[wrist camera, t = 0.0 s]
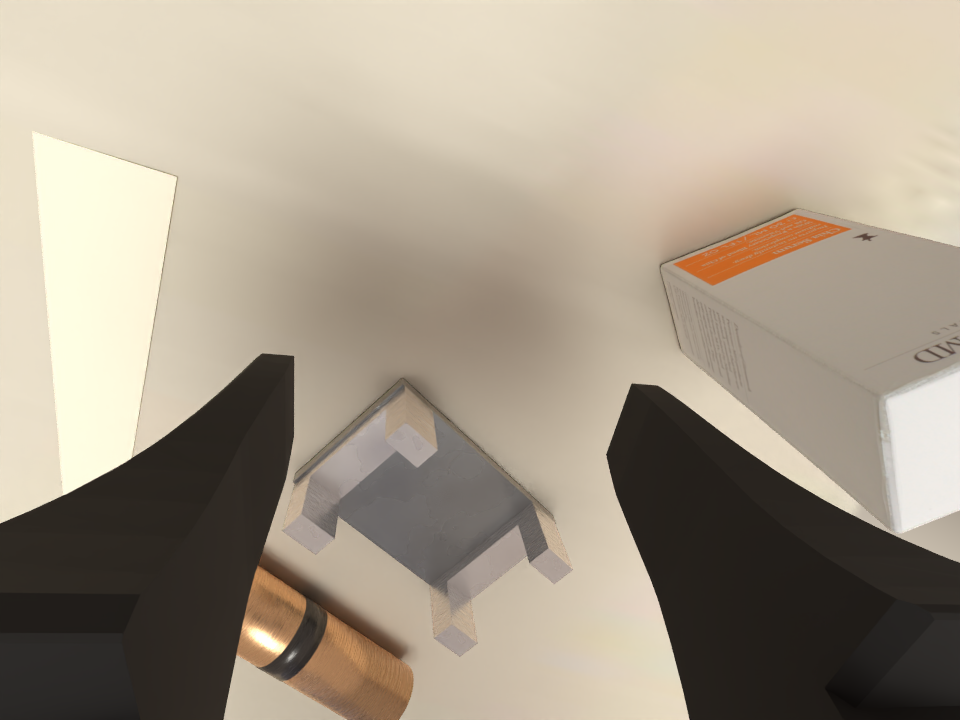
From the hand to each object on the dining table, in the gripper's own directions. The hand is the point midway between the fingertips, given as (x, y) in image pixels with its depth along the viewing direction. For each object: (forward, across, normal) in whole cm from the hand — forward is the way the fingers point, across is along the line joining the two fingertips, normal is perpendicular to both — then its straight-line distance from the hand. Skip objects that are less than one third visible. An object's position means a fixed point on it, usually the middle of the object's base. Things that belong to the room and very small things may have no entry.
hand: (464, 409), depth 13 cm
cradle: (+9, -1, +11) cm, 14 cm away
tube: (+8, +4, +18) cm, 20 cm away
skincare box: (+11, -12, 0) cm, 16 cm away
